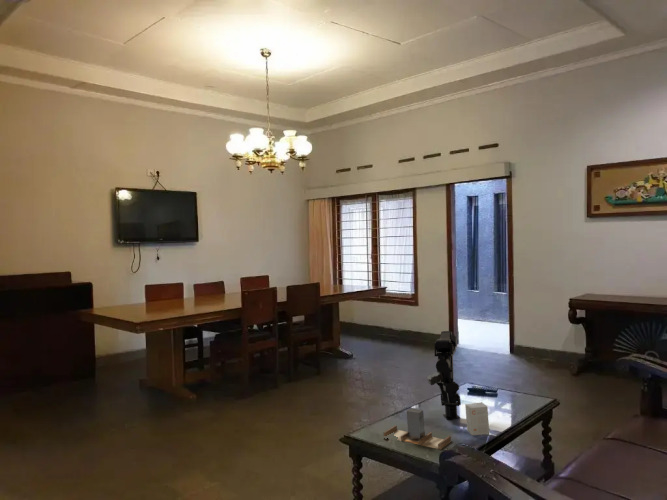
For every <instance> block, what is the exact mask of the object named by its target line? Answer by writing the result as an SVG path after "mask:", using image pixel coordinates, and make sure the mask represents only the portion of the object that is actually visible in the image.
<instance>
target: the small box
mask: <svg viewBox="0 0 667 500" xmlns="http://www.w3.org/2000/svg"><path fill="white" fill-rule="evenodd" d="M488 409H489V407H488V405H486V404H485V403H483V402H473V403H465V416H466V417H465V418H466V419H465V420H466V430H467V432H468V433H469V434H470V435H471V436H481V435H487V437H488V436H489V437H490V425H489V424H490V423H489V421H490V420H489V410H488Z"/></svg>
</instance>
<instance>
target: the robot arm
mask: <svg viewBox="0 0 667 500" xmlns="http://www.w3.org/2000/svg"><path fill="white" fill-rule="evenodd" d="M457 348H458V340H457V336H455V335H454V334H453V333H452V331H450V330H443V331H440V336H439V338H436V340H435V342H434V357H437V361H436V364H435V368H436V371H435V372H433V373H432V374H429V375H427V376H426V380H427V382H428V383H429V385H430V386H433V385H435V384H436V385H437V386H438V388H439V390H440V404H441V406H442V407H443V406H444V414H443V415H442V416H443V417H444V418H445V419H446V420H457V419H461V417H460V416H459V415H458V408H457V407H459V406H461V405H462V404H461V396H460V394H459V393H458V391H459V390H460V385H459V384H458V383H457V382H456V381H454V378H455V377H454V356H455V353H456V352H457Z"/></svg>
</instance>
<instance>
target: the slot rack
mask: <svg viewBox="0 0 667 500" xmlns="http://www.w3.org/2000/svg"><path fill="white" fill-rule="evenodd" d="M393 432H394V433H395V434H394V436H396V437H398V439H397V440H396V441H401V442H405V443H410V444H415V445H419V446H424V447H427V448H432V449H436V450H442V449H443V448H445V447H446V446H447V445H448V444H450V443H451V442H452V439H451V438H452V437H451V435H448V436H447V437H445V438H444V439H443V438H439V437H434V436H433V432H432V431H430V432H428V433H427V434H425V436H424V437H422V438H421V439H420V440H419V441H415V440H410V439H409V438H408V431H406V430H405V431H404V430H402V429H401V430H400V429H398V426H397V424H395V425H393V426H391V427H390V428H389V429H387V430H385V431H384V432H383V437H384V436H387V435H389V434H391V433H393Z"/></svg>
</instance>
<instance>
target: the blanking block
mask: <svg viewBox="0 0 667 500" xmlns="http://www.w3.org/2000/svg"><path fill="white" fill-rule="evenodd" d="M406 420H407V432H408V438H409V439H410V440H415V441H419V440H420V439H421V438H422V437H424V436H425V435H426V432H425V431H426V430H425V418H424V410H423V409H420V408H419V409H418V408H413V407H410V408H409V409H407V410H406Z"/></svg>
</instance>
